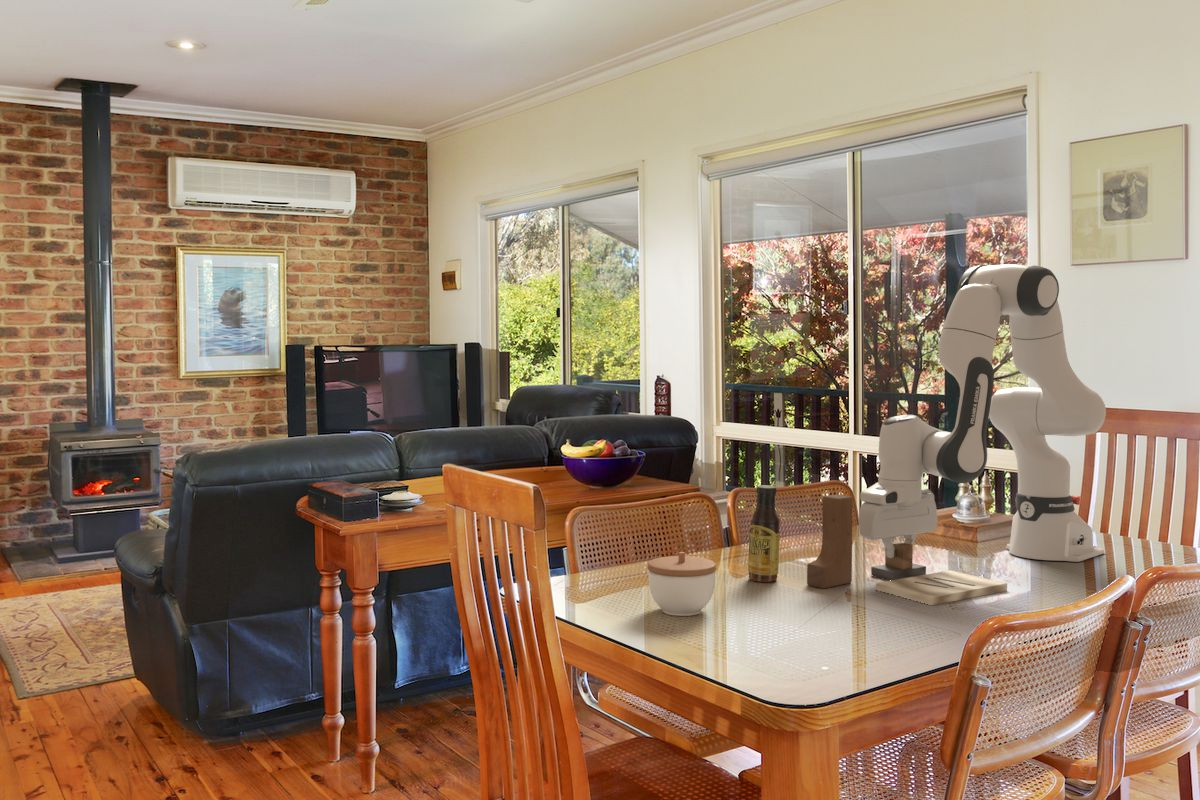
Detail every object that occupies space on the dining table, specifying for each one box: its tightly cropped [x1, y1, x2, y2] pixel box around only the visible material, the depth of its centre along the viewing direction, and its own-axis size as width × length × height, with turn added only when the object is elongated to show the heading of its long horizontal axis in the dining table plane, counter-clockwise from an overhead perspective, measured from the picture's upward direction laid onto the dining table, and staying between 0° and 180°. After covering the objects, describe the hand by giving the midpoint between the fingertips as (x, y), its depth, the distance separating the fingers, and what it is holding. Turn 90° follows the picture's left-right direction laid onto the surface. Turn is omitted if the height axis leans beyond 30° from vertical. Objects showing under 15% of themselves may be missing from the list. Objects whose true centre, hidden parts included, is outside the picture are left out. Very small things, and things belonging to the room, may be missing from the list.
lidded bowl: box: [647, 551, 717, 617], centre depth 194 cm, size 13×13×11 cm
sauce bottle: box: [747, 484, 781, 584], centre depth 218 cm, size 6×6×20 cm
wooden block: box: [806, 494, 853, 590], centre depth 215 cm, size 9×4×18 cm, turn 126°
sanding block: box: [870, 540, 927, 581], centre depth 223 cm, size 10×6×7 cm, turn 121°
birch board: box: [875, 569, 1008, 606], centre depth 209 cm, size 22×14×2 cm, turn 121°
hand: (898, 556), depth 223 cm, fingers closed on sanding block, 3 cm apart
